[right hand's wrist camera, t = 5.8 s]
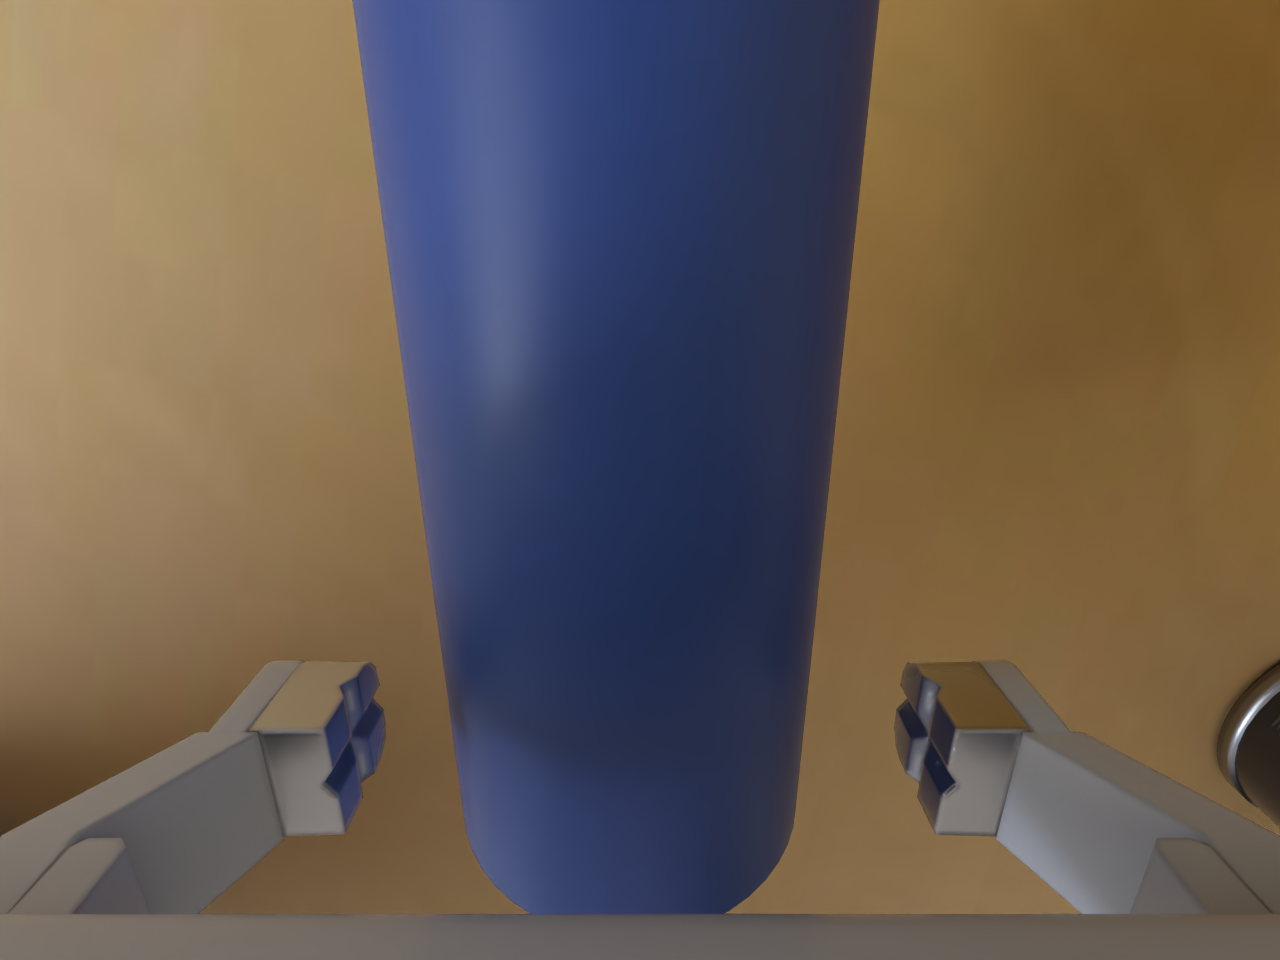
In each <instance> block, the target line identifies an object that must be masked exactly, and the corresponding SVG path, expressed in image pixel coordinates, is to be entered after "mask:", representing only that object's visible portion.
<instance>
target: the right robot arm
mask: <svg viewBox="0 0 1280 960" xmlns="http://www.w3.org/2000/svg"><path fill="white" fill-rule="evenodd" d="M378 687H379V680H378V675H377V670H376V667H375V666H374V665H373V664H372V663H371V662H349V661H272V662H269V663H267V664H266V665H265V666H264V667H263V668H262V669H261V670H260V671H259V673H258V674H257V675H256V676H255V677H254V679H253V680H252V681H251V682H250V683H249V684H248V686H247V687H246V688H245V689H244V690H243V692H242V693H241V694H240V695H239V696H238V698H237V699H236V700H235V701H234V702H233V703H232V705H231V706H230V707H229V708H228V709H227V711H226V712H225V713H224V714H223V715H222V716H221V718H220V719H219V720H218V721H217V722H216V724H215V725H214V726H213V727H212V728H211V729H210V731H209V732H197V733H195V734H193V735H191V736H189V737H187V738H185V739H184V740H182V741H180V742H178V743H176V744H174V745H172V746H170V747H168V748H166V749H165V750H163V751H161V752H159V753H157V754H155V755H153V756H151V757H149V758H147V759H146V760H144V761H142V762H140V763H138V764H136V765H134V766H132V767H130V768H128V769H127V770H125V771H123V772H121V773H119V774H117V775H115V776H113V777H111V778H109V779H108V780H106V781H104V782H102V783H100V784H98V785H96V786H94V787H92V788H90V789H89V790H87V791H85V792H83V793H81V794H79V795H77V796H75V797H73V798H71V799H69V800H68V801H66V802H64V803H62V804H60V805H58V806H56V807H54V808H52V809H50V810H49V811H47V812H45V813H43V814H41V815H39V816H37V817H35V818H33V819H31V820H30V821H28V822H26V823H24V824H22V825H20V826H18V827H16V828H14V829H12V830H11V831H9V832H7V833H5V834H3V835H2V836H1V837H0V960H1280V836H1278V835H1276V834H1275V833H1273V832H1271V831H1269V830H1267V829H1265V828H1263V827H1261V826H1259V825H1258V824H1256V823H1254V822H1252V821H1250V820H1248V819H1246V818H1244V817H1242V816H1240V815H1239V814H1237V813H1235V812H1233V811H1231V810H1229V809H1227V808H1225V807H1223V806H1222V805H1220V804H1218V803H1216V802H1214V801H1212V800H1210V799H1208V798H1206V797H1204V796H1203V795H1201V794H1199V793H1197V792H1195V791H1193V790H1191V789H1189V788H1187V787H1186V786H1184V785H1182V784H1180V783H1178V782H1176V781H1174V780H1172V779H1170V778H1168V777H1167V776H1165V775H1163V774H1161V773H1159V772H1157V771H1155V770H1153V769H1151V768H1150V767H1148V766H1146V765H1144V764H1142V763H1140V762H1138V761H1136V760H1134V759H1132V758H1131V757H1129V756H1127V755H1125V754H1123V753H1121V752H1119V751H1117V750H1115V749H1114V748H1112V747H1110V746H1108V745H1106V744H1104V743H1102V742H1100V741H1098V740H1096V739H1095V738H1093V737H1091V736H1089V735H1087V734H1085V733H1083V732H1071V731H1070V729H1069V728H1068V727H1067V726H1066V725H1065V724H1064V722H1063V721H1062V720H1061V719H1060V718H1059V716H1058V715H1057V714H1056V713H1055V712H1054V711H1053V709H1052V708H1051V707H1050V706H1049V705H1048V703H1047V702H1046V701H1045V700H1044V699H1043V698H1042V696H1041V695H1040V694H1039V693H1038V692H1037V690H1036V689H1035V688H1034V687H1033V686H1032V685H1031V683H1030V682H1029V681H1028V680H1027V679H1026V677H1025V676H1024V675H1023V674H1022V673H1021V672H1020V670H1019V669H1018V668H1017V667H1016V666H1015V665H1014V664H1013V663H1011V662H1009V661H1007V660H992V661H973V662H924V663H907V664H906V666H905V668H904V670H903V673H902V679H901V687H902V689H903V691H904V693H905V694H906V696H907V699H906V700H905V701H904V702H903V703H902V704H901V705H900V706H899V707H898V708H897V709H896V717H895V725H894V731H895V743H896V749H897V752H898V756H899V759H900V762H901V764H902V766H903V768H904V770H905V773H906V774H908V775H909V776H910V777H912V778H913V779H915V780H916V781H917V782H919V789H918V795H917V798H918V800H919V802H920V804H921V806H922V808H923V810H924V812H925V814H926V816H927V818H928V820H929V822H930V824H931V827H932V829H933V831H934V833H935V835H967V836H997V838H996V840H998V841H999V842H1000V843H1001V844H1002V845H1003V846H1005V847H1006V848H1007V849H1008V850H1009V851H1010V852H1011V853H1013V854H1014V855H1015V856H1016V857H1017V858H1018V859H1020V860H1021V861H1022V862H1023V863H1024V864H1025V865H1026V866H1028V867H1029V868H1030V869H1031V870H1032V871H1033V872H1034V873H1036V874H1037V875H1038V876H1039V877H1040V878H1041V879H1043V880H1044V881H1045V882H1046V883H1047V884H1048V885H1049V886H1051V887H1052V888H1053V889H1054V890H1055V891H1056V892H1058V893H1059V894H1060V895H1061V896H1062V897H1063V898H1064V899H1066V900H1067V901H1068V902H1069V903H1070V904H1071V905H1073V906H1074V907H1075V908H1076V909H1077V910H1078V911H1079V912H1081V913H1082V914H198V913H200V912H201V911H202V910H203V909H204V908H205V907H206V906H208V905H209V904H210V903H211V902H212V901H213V900H215V899H216V898H217V897H218V896H219V895H220V894H222V893H223V892H224V891H225V890H226V889H227V888H228V887H230V886H231V885H232V884H233V883H234V882H235V881H237V880H238V879H239V878H240V877H241V876H242V875H243V874H245V873H246V872H247V871H248V870H249V869H250V868H252V867H253V866H254V865H255V864H256V863H257V862H258V861H260V860H261V859H262V858H263V857H264V856H265V855H267V854H268V853H269V852H270V851H271V850H272V849H274V848H275V847H276V846H277V845H278V844H279V843H280V842H282V841H283V839H284V838H283V836H312V835H345V833H346V831H347V829H348V827H349V825H350V823H351V820H352V818H353V816H354V814H355V812H356V810H357V808H358V806H359V804H360V802H361V800H362V798H363V794H362V789H361V782H363V781H364V780H365V779H367V778H368V777H370V776H371V775H372V774H374V773H375V770H376V768H377V766H378V764H379V761H380V759H381V756H382V752H383V747H384V742H385V727H386V722H385V715H384V709H383V708H382V707H381V706H380V705H379V704H378V703H377V702H376V701H375V700H374V699H373V696H374V694H375V693H376V691H377V689H378Z"/></svg>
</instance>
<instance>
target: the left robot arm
mask: <svg viewBox="0 0 1280 960" xmlns="http://www.w3.org/2000/svg"><path fill="white" fill-rule="evenodd" d="M1217 759H1218V764H1219V767H1220V769H1221V772H1222V774H1223V775H1224V777H1225V778H1226V780H1227V781H1228V782H1229V783H1230V784H1231V785H1232V786H1233V787H1234V788H1235V789H1236V790H1237V791H1238V792H1239V793H1240V794H1241V795H1242V796H1243V797H1244V798H1246V799H1247V800H1248V801H1249V802H1250V803H1251V804H1253V805H1254V806H1256V807H1258V808H1259V809H1260V810H1261V811H1262V812H1264V813H1265V814H1266V815H1267V816H1268V817H1269V818H1270V819H1271V820H1272V821H1273V822H1274V823H1275V824H1276V825H1277V826H1278V827H1279V828H1280V664H1279V665H1278V666H1276V667H1274V668H1273V669H1272V670H1270V671H1269V672H1267V673H1266V674H1265V675H1263V676H1262V677H1261V678H1259V679H1258V680H1257V681H1256V682H1255V683H1254V684H1253V685H1252V686H1250V687H1249V688H1248V689H1247V690H1246V692H1245V693H1244V694H1243V695H1242V696H1241V697H1240V698H1239V699H1238V701H1237V702H1236V703H1235V705H1234V706H1233V707H1232V709H1231V710H1230V712H1229V714H1228V715H1227V717H1226V719H1225V721H1224V723H1223V725H1222V728H1221V731H1220V734H1219V738H1218V743H1217Z"/></svg>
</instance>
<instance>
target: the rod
mask: <svg viewBox="0 0 1280 960" xmlns="http://www.w3.org/2000/svg"><path fill="white" fill-rule="evenodd" d="M353 7H354V14H355V21H356V29H357V36H358V43H359V51H360V58H361V65H362V73H363V80H364V87H365V95H366V102H367V109H368V117H369V124H370V131H371V139H372V146H373V153H374V160H375V168H376V175H377V182H378V190H379V197H380V204H381V212H382V219H383V226H384V234H385V241H386V248H387V256H388V263H389V270H390V278H391V285H392V292H393V300H394V307H395V314H396V322H397V329H398V336H399V343H400V351H401V358H402V365H403V373H404V380H405V387H406V395H407V402H408V409H409V417H410V424H411V431H412V439H413V446H414V453H415V461H416V468H417V475H418V483H419V490H420V497H421V505H422V512H423V519H424V526H425V534H426V541H427V548H428V556H429V563H430V570H431V578H432V585H433V592H434V600H435V607H436V614H437V622H438V629H439V636H440V644H441V651H442V658H443V666H444V673H445V680H446V688H447V695H448V702H449V710H450V717H451V724H452V731H453V739H454V746H455V753H456V761H457V768H458V775H459V783H460V790H461V797H462V805H463V812H464V819H465V826H466V832H467V836H468V839H469V842H470V845H471V848H472V851H473V853H474V855H475V857H476V858H477V860H478V862H479V864H480V866H481V868H482V869H483V871H484V872H485V873H486V874H487V876H488V877H489V878H490V880H491V881H492V882H493V883H494V885H495V886H496V887H497V888H498V889H499V890H500V891H501V892H503V893H504V894H505V895H506V896H507V897H508V898H509V899H510V900H511V901H512V902H514V903H515V904H517V905H518V906H520V907H521V908H523V909H524V910H525V911H527V912H528V913H530V914H724V913H726V912H728V911H730V910H731V909H732V908H734V907H735V906H737V905H738V904H739V903H741V902H742V901H743V900H745V899H746V898H747V897H749V896H750V895H751V894H752V893H753V892H754V891H755V890H756V889H757V888H758V887H759V886H760V885H761V884H762V883H763V882H764V881H765V880H766V879H767V877H768V876H769V874H770V873H771V872H772V870H773V869H774V868H775V866H776V865H777V864H778V862H779V860H780V858H781V856H782V854H783V852H784V850H785V848H786V846H787V844H788V841H789V838H790V835H791V832H792V828H793V824H794V816H795V808H796V799H797V789H798V779H799V770H800V760H801V751H802V741H803V731H804V722H805V712H806V702H807V693H808V683H809V674H810V664H811V654H812V645H813V635H814V625H815V616H816V606H817V597H818V587H819V577H820V568H821V558H822V548H823V539H824V529H825V520H826V510H827V500H828V491H829V481H830V472H831V462H832V452H833V443H834V433H835V423H836V414H837V404H838V395H839V385H840V375H841V366H842V356H843V346H844V337H845V327H846V318H847V308H848V298H849V289H850V279H851V269H852V260H853V250H854V241H855V231H856V221H857V212H858V202H859V192H860V183H861V173H862V164H863V154H864V144H865V135H866V125H867V116H868V106H869V96H870V87H871V77H872V67H873V58H874V48H875V39H876V29H877V19H878V10H879V0H353Z"/></svg>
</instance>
